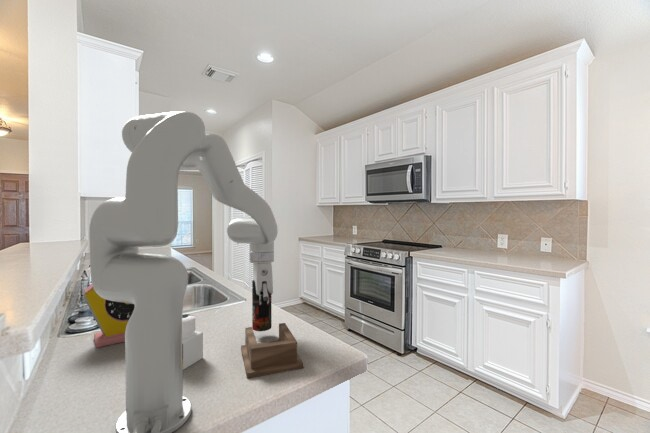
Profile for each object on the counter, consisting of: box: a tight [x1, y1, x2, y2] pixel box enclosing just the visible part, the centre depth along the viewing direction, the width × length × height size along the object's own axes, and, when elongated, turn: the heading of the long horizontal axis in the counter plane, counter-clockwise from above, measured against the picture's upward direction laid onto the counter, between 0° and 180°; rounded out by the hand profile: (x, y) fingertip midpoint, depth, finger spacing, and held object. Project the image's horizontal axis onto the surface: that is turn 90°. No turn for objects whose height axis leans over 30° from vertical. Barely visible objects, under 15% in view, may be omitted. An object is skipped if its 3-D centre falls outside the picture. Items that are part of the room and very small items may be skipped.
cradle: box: [240, 322, 304, 379], centre depth 84 cm, size 16×14×6 cm
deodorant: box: [251, 280, 273, 332], centre depth 97 cm, size 6×6×15 cm
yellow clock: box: [82, 283, 135, 349], centre depth 98 cm, size 22×9×22 cm, turn 130°
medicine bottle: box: [182, 313, 204, 371], centre depth 82 cm, size 7×7×12 cm
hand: (261, 313), depth 98 cm, fingers closed on deodorant, 5 cm apart
